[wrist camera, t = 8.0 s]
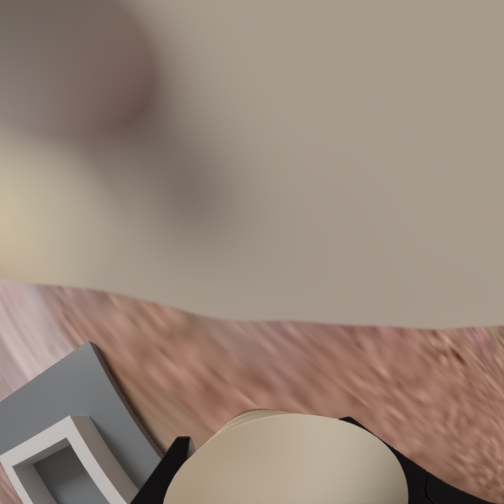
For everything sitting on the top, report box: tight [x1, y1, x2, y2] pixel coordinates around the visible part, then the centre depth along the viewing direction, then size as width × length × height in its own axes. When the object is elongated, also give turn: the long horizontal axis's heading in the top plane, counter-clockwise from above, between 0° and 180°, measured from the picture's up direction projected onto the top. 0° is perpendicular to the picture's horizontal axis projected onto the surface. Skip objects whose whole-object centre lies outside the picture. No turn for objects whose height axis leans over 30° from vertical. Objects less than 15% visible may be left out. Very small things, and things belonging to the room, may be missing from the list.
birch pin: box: [163, 409, 408, 504], centre depth 8 cm, size 4×4×11 cm
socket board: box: [0, 341, 164, 504], centre depth 14 cm, size 20×16×4 cm
